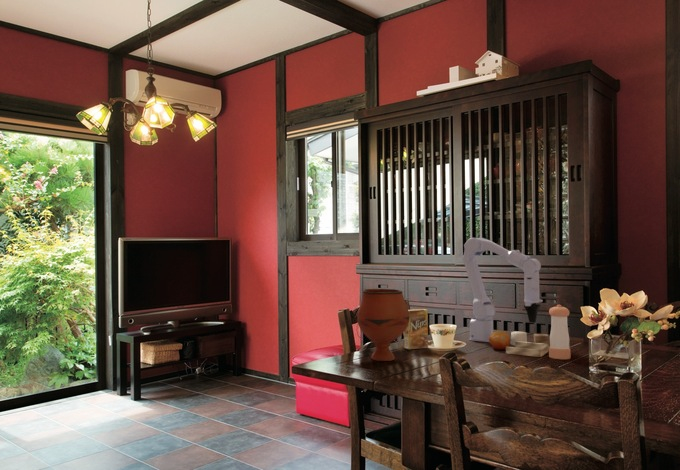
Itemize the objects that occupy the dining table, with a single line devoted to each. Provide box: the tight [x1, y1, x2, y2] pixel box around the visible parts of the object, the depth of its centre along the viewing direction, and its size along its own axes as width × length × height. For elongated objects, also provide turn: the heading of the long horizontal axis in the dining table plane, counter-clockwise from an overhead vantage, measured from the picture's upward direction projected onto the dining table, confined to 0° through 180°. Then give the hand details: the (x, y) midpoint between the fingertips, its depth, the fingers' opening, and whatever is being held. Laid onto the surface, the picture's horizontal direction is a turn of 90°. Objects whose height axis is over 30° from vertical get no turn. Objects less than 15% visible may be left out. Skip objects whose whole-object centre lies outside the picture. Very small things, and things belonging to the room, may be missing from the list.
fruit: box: [489, 330, 511, 351], centre depth 215 cm, size 8×8×8 cm
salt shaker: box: [548, 304, 572, 360], centre depth 199 cm, size 7×7×19 cm
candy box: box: [403, 308, 429, 350], centre depth 217 cm, size 9×4×15 cm, turn 113°
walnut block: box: [533, 333, 550, 345], centre depth 217 cm, size 5×5×5 cm
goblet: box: [356, 288, 409, 362], centre depth 198 cm, size 19×19×25 cm
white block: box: [510, 330, 528, 347], centre depth 223 cm, size 6×6×5 cm
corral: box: [505, 341, 550, 358], centre depth 208 cm, size 13×14×2 cm
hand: (532, 322), depth 220 cm, fingers closed
